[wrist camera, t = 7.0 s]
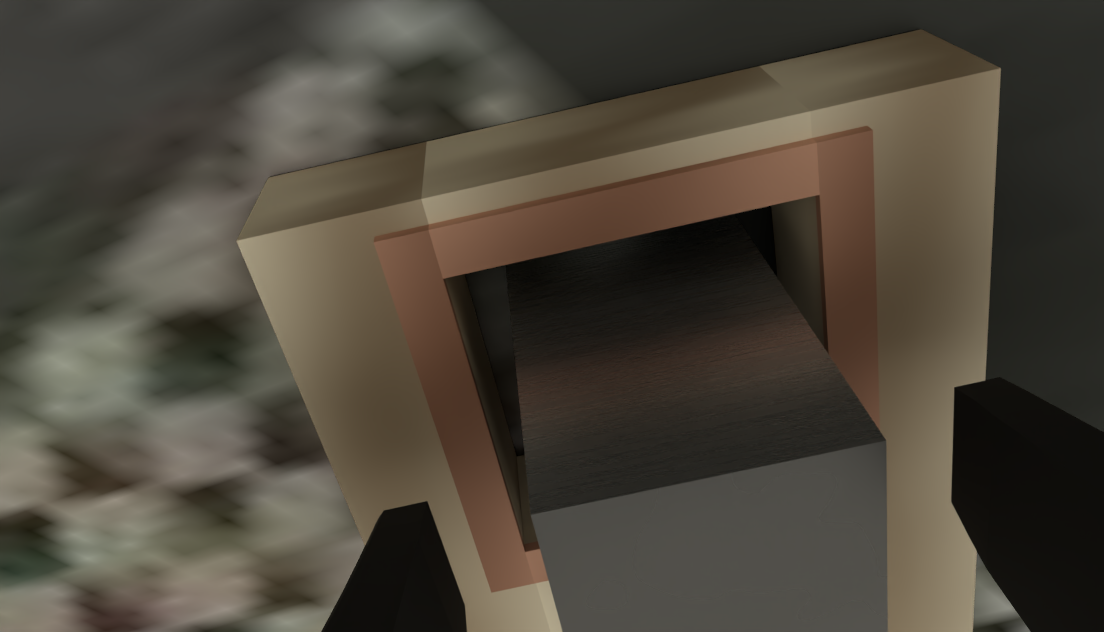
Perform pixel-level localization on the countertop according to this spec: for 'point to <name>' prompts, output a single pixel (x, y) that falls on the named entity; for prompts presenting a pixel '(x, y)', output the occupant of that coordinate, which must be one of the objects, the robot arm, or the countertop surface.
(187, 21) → the countertop surface
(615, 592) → the grey rectangular block
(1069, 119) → the countertop surface
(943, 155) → the rail plate
